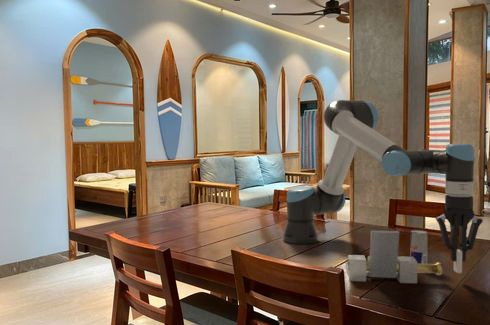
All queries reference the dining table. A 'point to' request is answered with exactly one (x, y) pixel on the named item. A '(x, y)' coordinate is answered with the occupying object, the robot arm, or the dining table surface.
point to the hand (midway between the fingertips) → (457, 271)
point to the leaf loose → (383, 254)
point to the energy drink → (418, 246)
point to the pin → (421, 268)
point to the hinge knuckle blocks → (406, 274)
